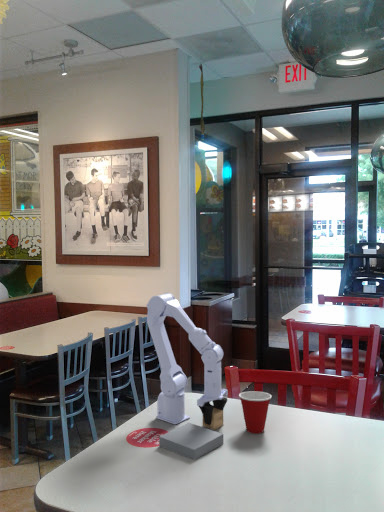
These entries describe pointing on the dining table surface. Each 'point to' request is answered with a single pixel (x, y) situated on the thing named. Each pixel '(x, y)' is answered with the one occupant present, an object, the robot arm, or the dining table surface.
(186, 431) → the slate base
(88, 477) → the dining table surface
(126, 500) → the dining table surface
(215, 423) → the oak cube
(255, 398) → the plastic cup
